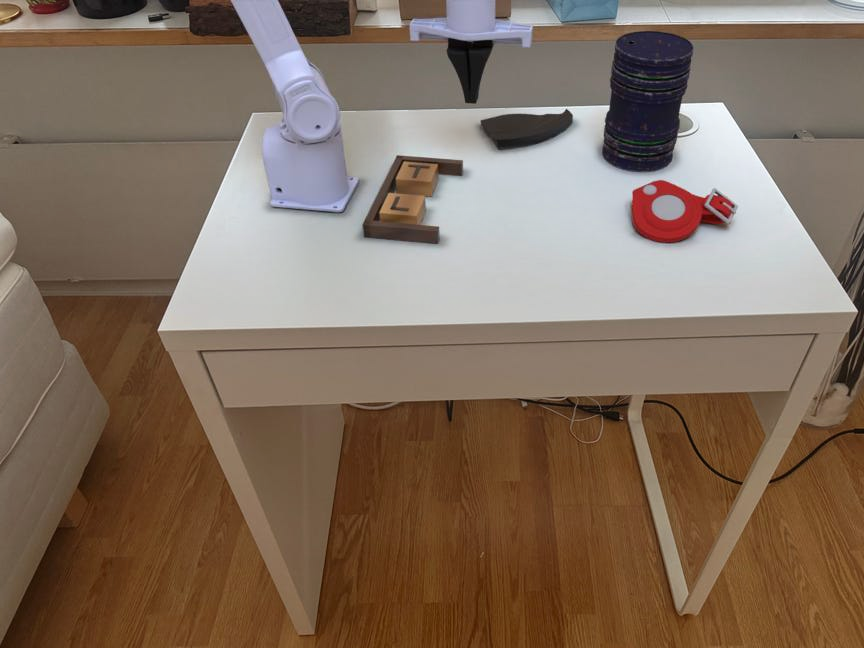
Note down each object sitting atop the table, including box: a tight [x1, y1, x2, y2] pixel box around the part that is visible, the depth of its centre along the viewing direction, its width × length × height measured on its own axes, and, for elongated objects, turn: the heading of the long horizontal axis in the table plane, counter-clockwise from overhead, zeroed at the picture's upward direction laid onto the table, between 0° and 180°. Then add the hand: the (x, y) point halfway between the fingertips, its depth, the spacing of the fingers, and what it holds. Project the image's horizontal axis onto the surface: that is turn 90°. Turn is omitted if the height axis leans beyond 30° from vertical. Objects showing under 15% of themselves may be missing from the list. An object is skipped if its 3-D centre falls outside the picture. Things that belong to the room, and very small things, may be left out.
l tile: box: [379, 192, 427, 225], centre depth 90 cm, size 5×5×2 cm
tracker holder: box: [630, 179, 739, 243], centre depth 89 cm, size 12×4×10 cm
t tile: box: [395, 162, 440, 198], centre depth 95 cm, size 5×5×2 cm
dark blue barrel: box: [601, 30, 695, 173], centre depth 97 cm, size 10×10×15 cm
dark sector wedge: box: [480, 108, 574, 151], centre depth 107 cm, size 8×14×2 cm, turn 107°
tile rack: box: [362, 154, 464, 245], centre depth 92 cm, size 9×17×2 cm, turn 171°
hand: (471, 100), depth 93 cm, fingers closed
